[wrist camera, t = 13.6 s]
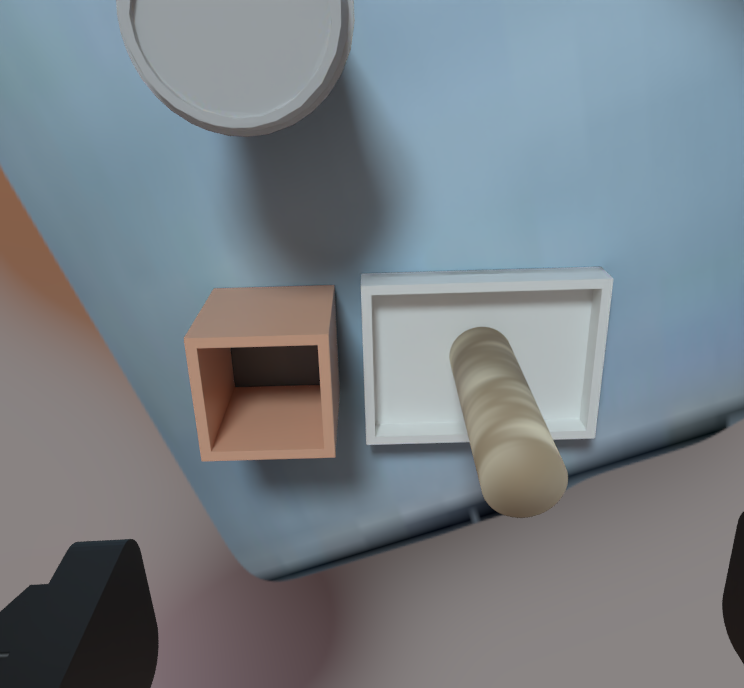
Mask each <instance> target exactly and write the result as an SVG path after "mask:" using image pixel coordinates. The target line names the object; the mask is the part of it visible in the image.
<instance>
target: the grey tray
mask: <svg viewBox="0 0 744 688" xmlns="http://www.w3.org/2000/svg"><path fill="white" fill-rule="evenodd" d="M612 287H613V278H612V277H611V276H610V275H609V274H608V273H607V272H606V271H605V270H604V269H603V268H602V267H571V268H537V269H502V270H467V271H433V272H398V273H363V274H361V304H362V332H363V361H364V389H365V418H366V445H381V444H416V443H451V442H470V441H469V437H468V433H467V429H466V425H465V421H464V417H463V413H462V409H461V405H460V401H459V397H458V393H457V389H456V385H455V380H454V376H453V372H452V368H451V364H450V359H449V355H450V349H451V346H452V344H453V342H454V341H455V340H456V338H457V337H458V336H459V335H461V334H462V333H463V332H465V331H467V330H469V329H472V328H475V327H490V328H493V329H495V330H498V331H499V332H501V333H502V334H503V335H504V336H505V337H506V338H507V340H508V341H509V344H510V346H511V348H512V350H513V352H514V355H515V357H516V359H517V361H518V363H519V366H520V368H521V370H522V372H523V374H524V377H525V379H526V381H527V383H528V385H529V388H530V390H531V392H532V394H533V396H534V399H535V401H536V403H537V405H538V407H539V410H540V412H541V414H542V416H543V419H544V421H545V423H546V425H547V427H548V430H549V432H550V434H551V436H552V438H553V440H557V439H592V438H595V432H596V423H597V415H598V406H599V398H600V389H601V381H602V372H603V364H604V355H605V347H606V338H607V329H608V321H609V312H610V304H611V295H612Z"/></svg>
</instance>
